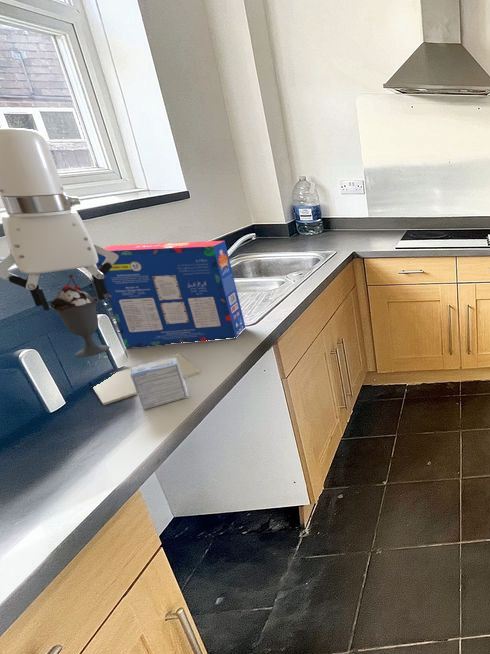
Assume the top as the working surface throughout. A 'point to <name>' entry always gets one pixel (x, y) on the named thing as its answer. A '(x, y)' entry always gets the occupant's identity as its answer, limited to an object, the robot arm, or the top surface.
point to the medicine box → (159, 383)
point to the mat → (124, 387)
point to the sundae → (79, 316)
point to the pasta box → (173, 293)
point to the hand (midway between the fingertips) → (74, 302)
